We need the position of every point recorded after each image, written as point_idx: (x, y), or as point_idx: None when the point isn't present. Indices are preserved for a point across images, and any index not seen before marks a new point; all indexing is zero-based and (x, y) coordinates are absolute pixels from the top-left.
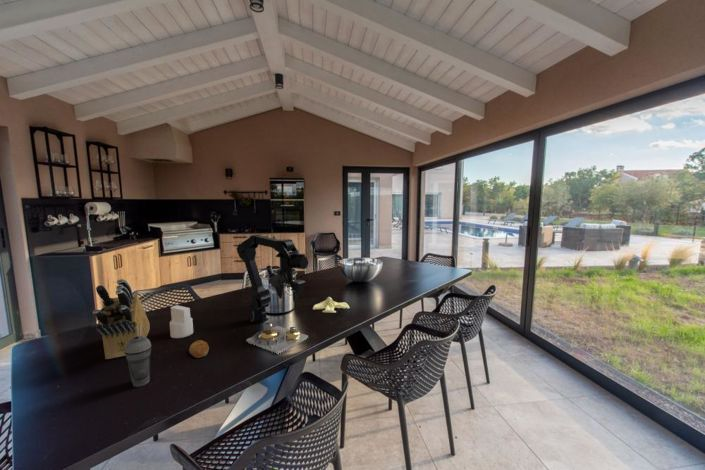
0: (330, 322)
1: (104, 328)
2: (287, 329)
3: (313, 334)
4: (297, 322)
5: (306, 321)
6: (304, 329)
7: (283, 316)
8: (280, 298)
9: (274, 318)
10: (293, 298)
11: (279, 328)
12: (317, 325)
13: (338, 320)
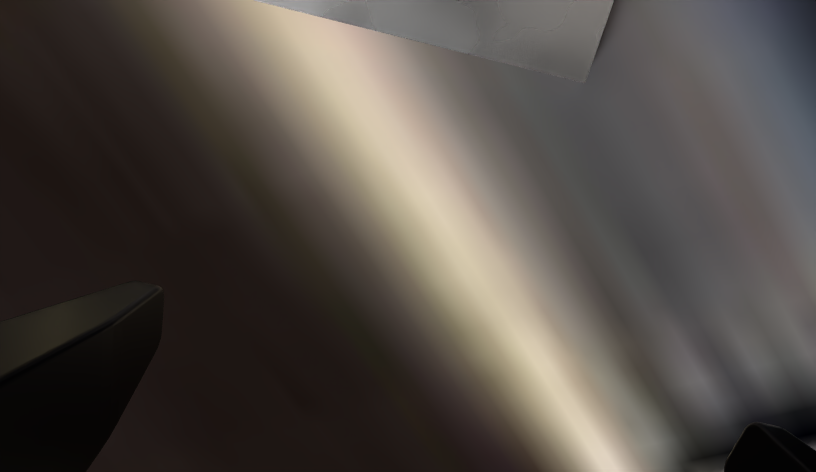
0: None
1: None
2: (368, 13)
3: (26, 68)
4: (419, 311)
5: (335, 363)
6: (220, 163)
7: (676, 408)
8: (747, 438)
9: (766, 331)
10: (57, 330)
11: (503, 4)
12: None
13: None
